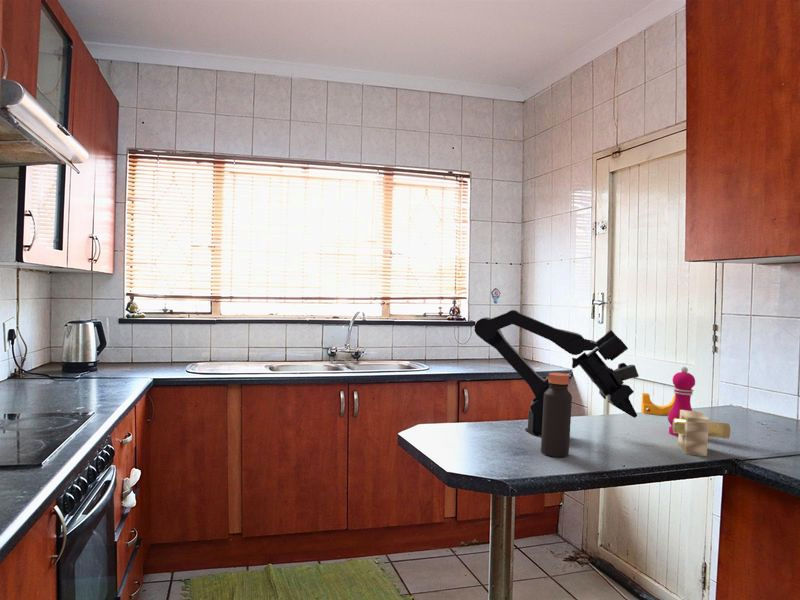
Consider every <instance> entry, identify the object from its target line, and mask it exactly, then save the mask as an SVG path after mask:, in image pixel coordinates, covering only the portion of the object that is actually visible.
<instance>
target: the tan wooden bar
mask: <svg viewBox="0 0 800 600" xmlns="http://www.w3.org/2000/svg"><path fill="white" fill-rule="evenodd" d="M673 433H677V434H685V419H679V418H674V419H673ZM730 437H731V426H730V423H727V422H718V421H709V430H708V438H715V439H716V438H717V439H723V440H725V439H727V440H729V439H730Z"/></svg>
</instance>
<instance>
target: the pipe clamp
mask: <svg viewBox="0 0 800 600" xmlns="http://www.w3.org/2000/svg"><path fill="white" fill-rule="evenodd" d="M674 402H675V395H673V397H672V400H671V401H670V402H669V403H668V404H666V405H663V406H662V405H658V404H655V403H653V402H652V400H651V397H650V393H647V392H642V393H641V409H640V411H641V413H642V414H643V413H647V414H646V415H654V414H656V415H655V416H664V415H665V414H666V415H665V416H668V415H669V412H670V410H671V409H672V407H673V405H674Z"/></svg>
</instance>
